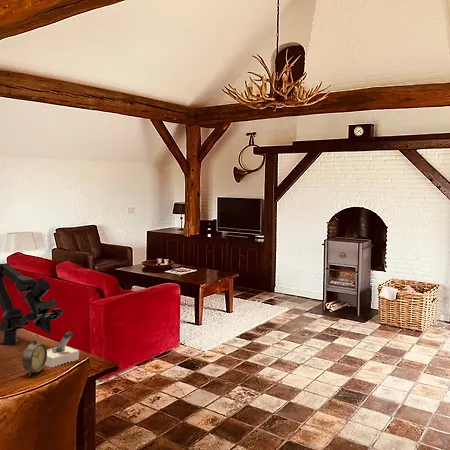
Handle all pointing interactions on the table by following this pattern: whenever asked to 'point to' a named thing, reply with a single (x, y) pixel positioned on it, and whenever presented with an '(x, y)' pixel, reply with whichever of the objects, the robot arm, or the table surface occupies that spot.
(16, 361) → the table surface
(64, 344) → the breaker lever
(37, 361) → the alarm clock
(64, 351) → the switch box
